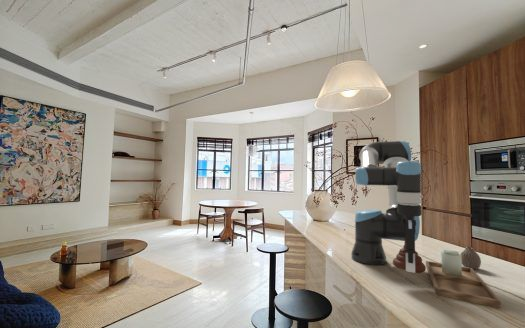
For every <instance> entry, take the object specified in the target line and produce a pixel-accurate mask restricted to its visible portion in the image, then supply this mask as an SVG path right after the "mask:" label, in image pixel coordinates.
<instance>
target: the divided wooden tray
mask: <svg viewBox="0 0 525 328" xmlns="http://www.w3.org/2000/svg"><path fill="white" fill-rule="evenodd" d="M425 267H426V269H427V270H426V271H427V272H428V276H429V279H430V281H431V284H432V287H433V290H434V292H435V295H436V296H437V295H438V296H442V297H447V298H451V299H456V300H461V301H465V302H469V303H475V304H479V305H485V306H489V307H492V308H493V307H494V308H499V309H501V307H502V306H501V300H500V299H499V298H498V296H497V295H496V294H495V293H494V292H493V291H492V290H491V288H490V287H489V286H488V285H487V284H486V283H485V282H484V280H483V279H482V278H481V277H480V276H479V275H478V274H477V272H476V271H475V270H473V269H472V268H468V267H464V266H462V277H455V276H449V275H445V274H443V273H442V262H437V261H436V262H435V261H429V260H426V261H425Z"/></svg>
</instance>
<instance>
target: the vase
mask: <svg viewBox="0 0 525 328" xmlns="http://www.w3.org/2000/svg"><path fill="white" fill-rule="evenodd" d="M460 255H461V258H462V267H468V268H472V269H473V270H474V271H475V270H478V269H479V268H480V267H481V265H482V259H481V257H480V255H479V254H478V253H477V251H476V250H475V248H473V247H471V246H466V247H465V249H464V250H462V252H461V253H460Z"/></svg>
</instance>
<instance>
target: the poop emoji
mask: <svg viewBox="0 0 525 328" xmlns="http://www.w3.org/2000/svg"><path fill="white" fill-rule="evenodd" d="M409 249H410V248H409ZM404 250H406V242H405V241H404V244H403V247H402V248H400V249H399V250H398V253H397V254H396V257H395V258H393V260H392V264H393V266H394V267H395V268H396V269H398V270H402V271H406V252H404ZM426 269H427V267H426V264H425V263H424V262H423V258H422V257H421V256H420V255H419V253H418V251H416V252H415V273H414V274H423V273H424V272H425V271H427V270H426Z"/></svg>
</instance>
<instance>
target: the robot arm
mask: <svg viewBox="0 0 525 328" xmlns="http://www.w3.org/2000/svg"><path fill="white" fill-rule="evenodd" d="M358 159H359V160H360V167H355V183H356V185H360V186H387V191H388V192H387V193H388V205H389V207H388V208H387V209H386V210H385V213H383V211H382V210H381V209H365V210H358V211H357V212H356V213H355V218H354V223H355V225H354V227H355V228H354V229H355V232H354V233H355V234H354V235H355V239H354V240H355V241H354V244H353V247H352V251H351V259H352V260H354V261H355V262H358V263H361V264H366V265H375V266H376V265H377V266H381V265H385V264H386V263H387V255H386V253H385V249H384V245H383V240H391V241H401V242H404V243H405V242H406V250H404V252H406V270H405V271H406V273H407V272H409V273H414V274H416V273H415V252H417V251H416V241H418V239H419V235H420V228H421V222H420V221H421V220H420V219H421V218H420V216H422V210H423V208H422V206H421V204H422V199H423V198H424V194H423V195H422V169H421V168H422V167H421V163H420V162H419V161H414V160H412V150H411V146H410V144H409V142H408V141H405V140H397V141H395V140H393V141H392V140H391V141H375V142H371V143H368V144H366V145H365V146H363V147H362V148H361V149H360V151H359V155H358ZM379 163H383V166H384V167H379ZM409 248H410V249H409Z"/></svg>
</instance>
